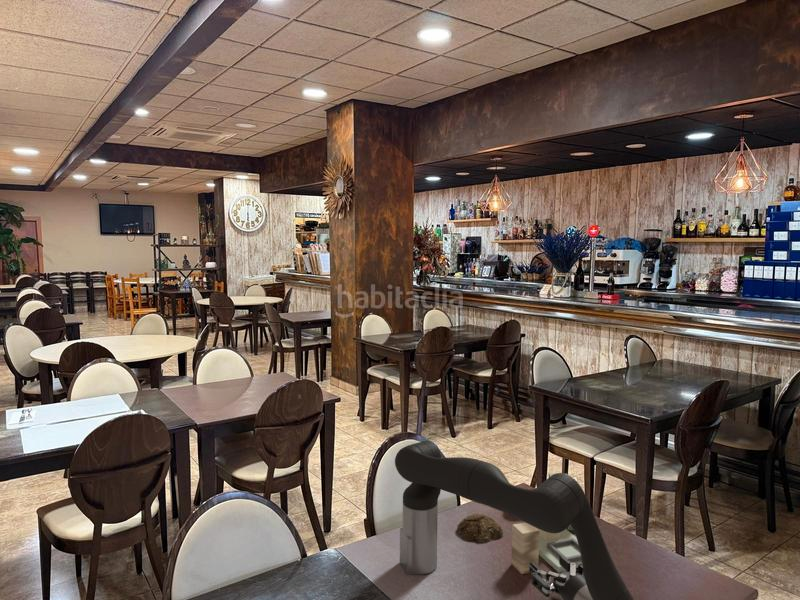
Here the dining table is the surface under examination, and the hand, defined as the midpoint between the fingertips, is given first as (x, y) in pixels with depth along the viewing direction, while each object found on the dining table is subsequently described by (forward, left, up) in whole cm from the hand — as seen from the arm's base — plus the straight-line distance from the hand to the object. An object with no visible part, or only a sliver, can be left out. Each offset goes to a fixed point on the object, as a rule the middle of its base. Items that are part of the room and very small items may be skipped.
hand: (545, 562), depth 138 cm
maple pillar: (0, +9, -7) cm, 11 cm away
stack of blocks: (+28, +32, -7) cm, 43 cm away
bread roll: (-3, +30, -7) cm, 31 cm away
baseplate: (+14, +14, -7) cm, 21 cm away
